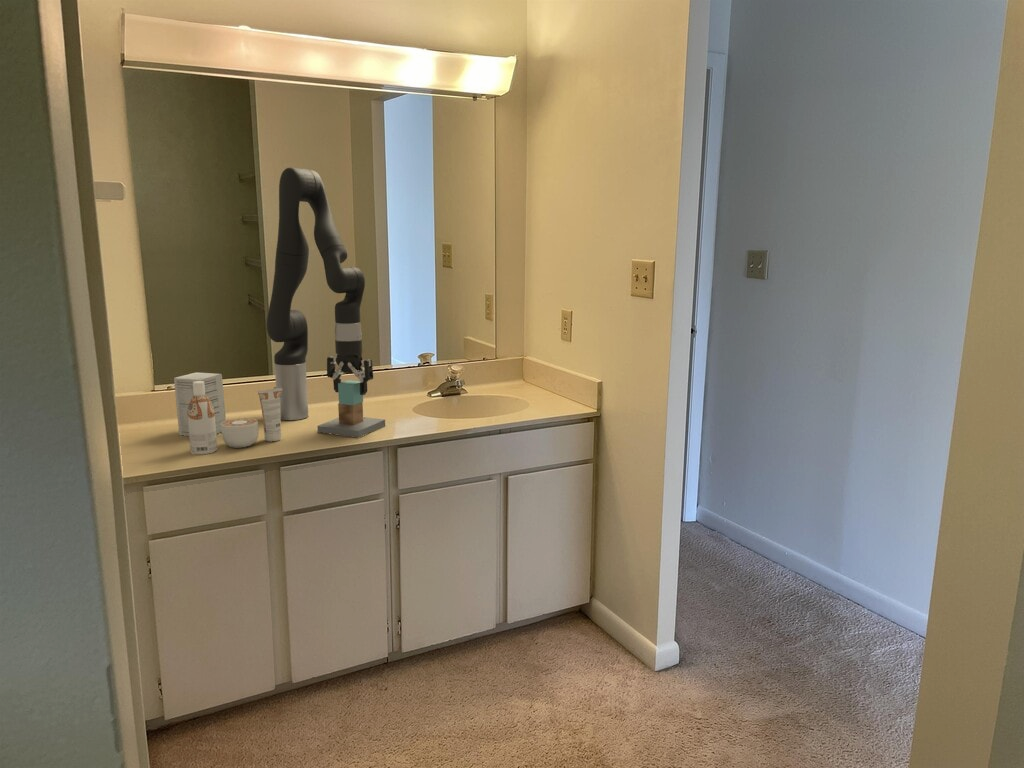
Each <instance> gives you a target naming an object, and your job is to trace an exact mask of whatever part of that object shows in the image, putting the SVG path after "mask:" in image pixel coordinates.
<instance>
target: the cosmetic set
mask: <svg viewBox="0 0 1024 768" xmlns="http://www.w3.org/2000/svg"><path fill="white" fill-rule="evenodd" d="M193 392H194V396H193V397H192V399H191V401H190V402H189V405H188V409H187V415H188V426H189V436H188V438H189V446H190V447H189V449H190V453H191V454H193V455H197V454H203V455H210V454H212V453H215V452H217V450H218V441H217V440H218V439H217V434H216V426H215V413H214V407H213V404H212V402H211V401H210V399H209V398H208V397H207V396H206V395H205V386H204V381H195V382H193ZM281 393H282V388H277V389H273V388H269V389H262V390H257V395H258V397H259V402H260V406H261V407H260V409H261V415H262V422H263V435H264V440H265V441H267V442H272V441H274V442H278V441H280V440H281V439H282V426H281V425H282V423H281ZM221 429H222V432H221V437H222V440H223V442H224V444H226V445H227V446H228V447H231V448H235V449H236V448H237V449H240V448H241V449H243V448H247V446H248V447H250V446H252V445H254V444H255V443H256V442H257V440H258V438H259V423H258V420H257V419H255V418H251V417H240V418H232V419H226V421H224V422H222V423H221ZM272 443H273V442H272ZM242 447H243V448H242ZM209 453H210V454H209Z"/></svg>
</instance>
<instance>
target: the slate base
mask: <svg viewBox="0 0 1024 768" xmlns="http://www.w3.org/2000/svg"><path fill="white" fill-rule="evenodd" d="M383 426H384V427H386V419H383V418H373V417H367V416H365V417H364V416H363V422H361V423H358V424H356V425H345V424H339V417H337V418H334V419H332V420H329V421H327V422H324V423H322V424H319V425H317V427H316V428H317V433H318V432H323V433H322V434H325V433H331V434H330V435H333V434H338V435H337V436H341V435H345V436H344V437H349V436H353V437H352V438H357V437H360V438H361V436H362V437H364V436H366V435H368V434H367V433H369V432H371V433H372V431H373V432H375V431H377V430H380V429H382V428H384V427H383ZM381 427H382V428H381ZM379 428H380V429H379ZM376 429H377V430H376ZM374 430H375V431H374ZM365 434H366V435H365ZM369 434H370V433H369ZM363 435H364V436H363Z"/></svg>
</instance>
